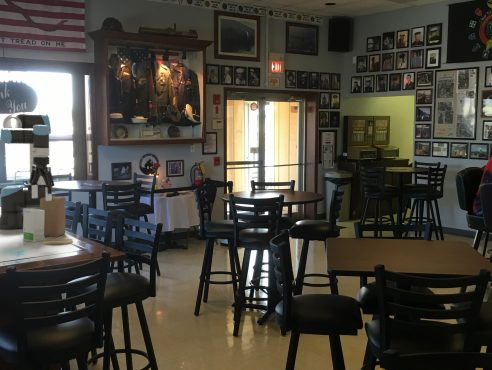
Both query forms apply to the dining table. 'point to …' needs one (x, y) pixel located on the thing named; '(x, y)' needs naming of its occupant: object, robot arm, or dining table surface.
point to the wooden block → (53, 216)
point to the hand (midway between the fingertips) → (41, 199)
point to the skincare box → (33, 225)
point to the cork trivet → (57, 241)
